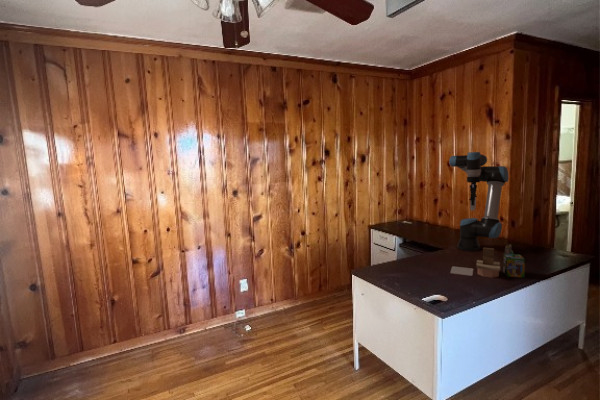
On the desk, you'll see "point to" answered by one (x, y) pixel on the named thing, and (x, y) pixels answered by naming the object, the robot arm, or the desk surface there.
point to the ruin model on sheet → (508, 249)
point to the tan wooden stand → (488, 260)
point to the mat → (462, 270)
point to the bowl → (488, 272)
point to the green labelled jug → (513, 265)
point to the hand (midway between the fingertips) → (473, 208)
